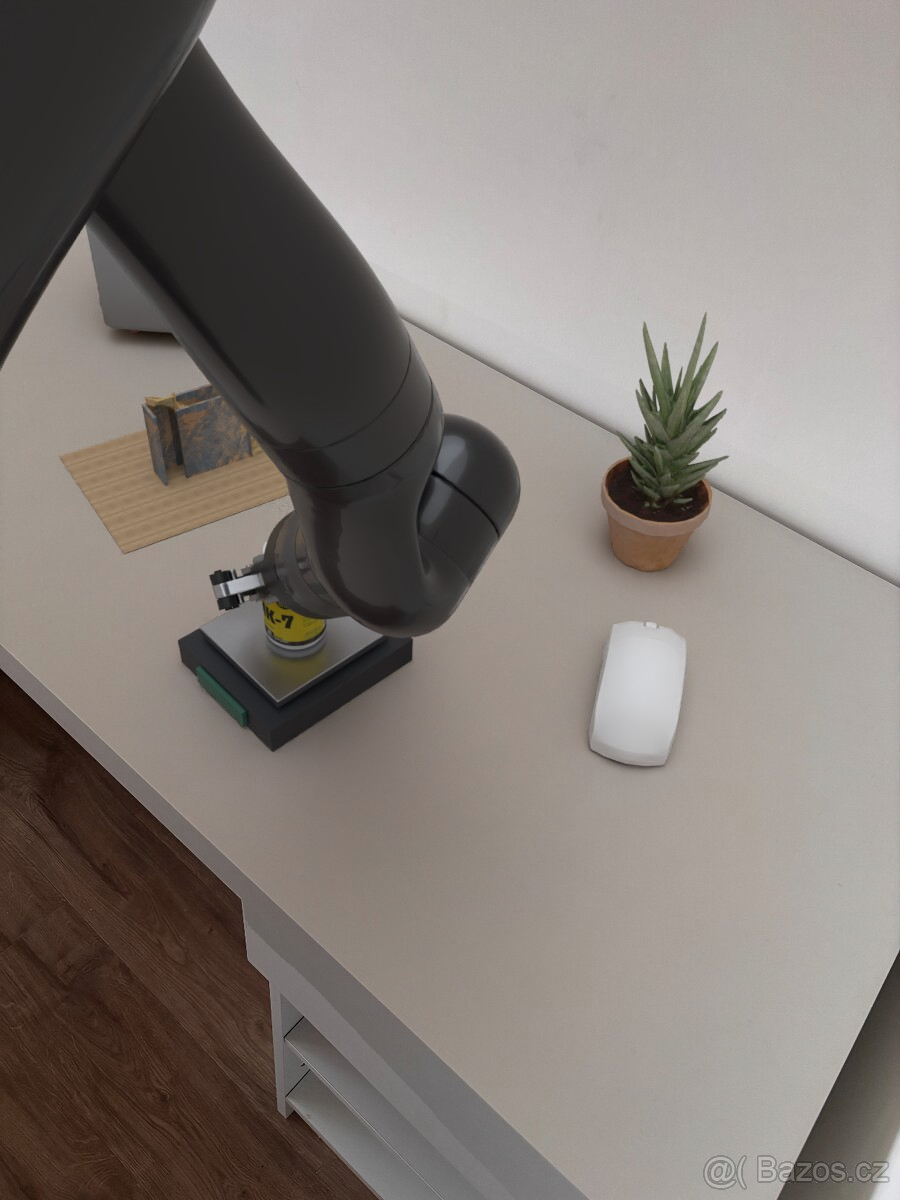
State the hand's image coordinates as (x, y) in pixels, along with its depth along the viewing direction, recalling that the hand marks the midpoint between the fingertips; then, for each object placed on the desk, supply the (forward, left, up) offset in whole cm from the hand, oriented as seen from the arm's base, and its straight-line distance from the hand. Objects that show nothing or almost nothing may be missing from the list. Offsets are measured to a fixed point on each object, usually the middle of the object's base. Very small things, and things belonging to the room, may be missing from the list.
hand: (284, 575), depth 81 cm
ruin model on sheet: (+9, +24, -8) cm, 27 cm away
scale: (-1, -2, -8) cm, 8 cm away
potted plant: (+31, -12, -8) cm, 34 cm away
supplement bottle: (-1, -2, -4) cm, 5 cm away
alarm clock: (+24, +50, -8) cm, 57 cm away
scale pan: (-1, -2, -5) cm, 5 cm away
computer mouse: (+16, -23, -8) cm, 29 cm away
